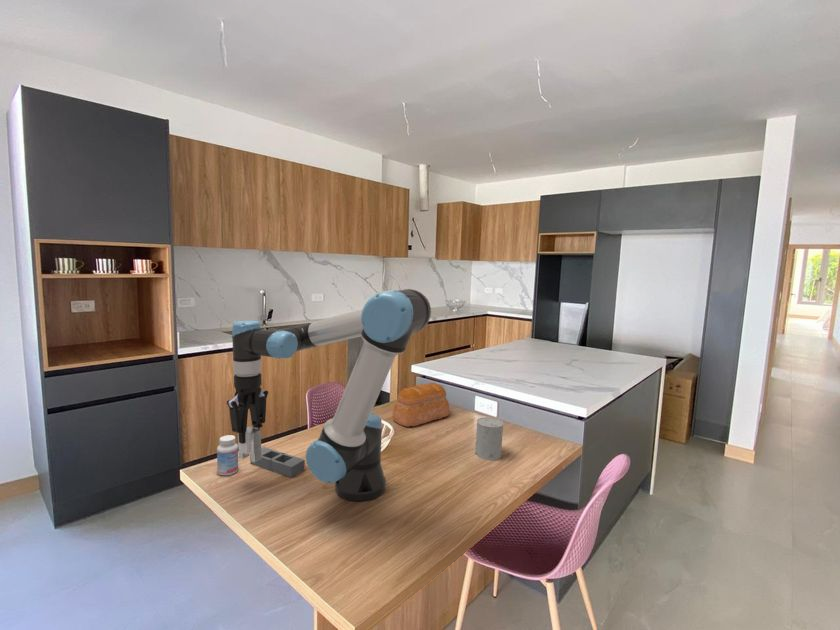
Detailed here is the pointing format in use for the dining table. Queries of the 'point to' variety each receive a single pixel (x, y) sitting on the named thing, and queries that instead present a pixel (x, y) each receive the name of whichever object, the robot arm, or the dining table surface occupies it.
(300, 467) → the grey slotted block
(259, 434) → the white rectangular block
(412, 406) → the bread
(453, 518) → the dining table surface
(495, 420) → the grey concrete cylinder
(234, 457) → the pill bottle
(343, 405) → the robot arm
